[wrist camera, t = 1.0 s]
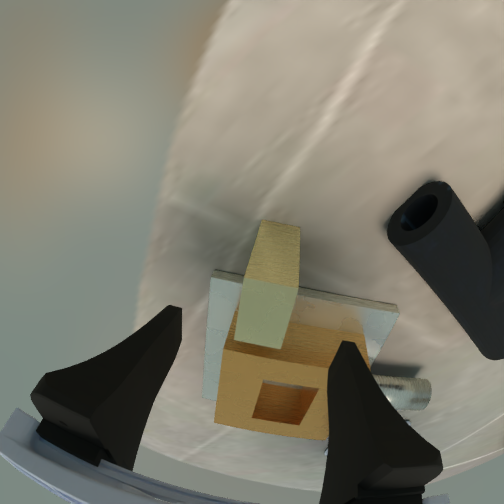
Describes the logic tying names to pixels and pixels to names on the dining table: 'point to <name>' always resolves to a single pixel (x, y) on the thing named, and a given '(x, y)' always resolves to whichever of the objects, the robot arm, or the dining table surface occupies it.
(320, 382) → the wooden slotted box
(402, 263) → the dining table surface
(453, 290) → the pipe connector
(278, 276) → the pale wooden brick
